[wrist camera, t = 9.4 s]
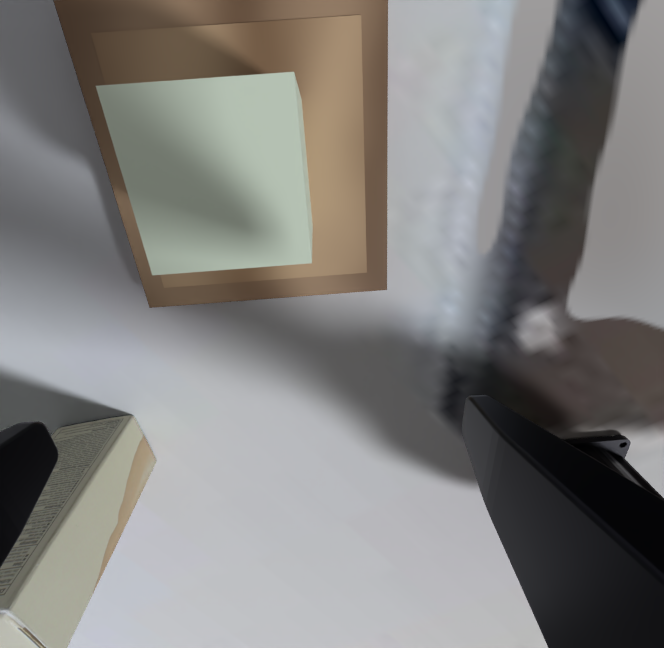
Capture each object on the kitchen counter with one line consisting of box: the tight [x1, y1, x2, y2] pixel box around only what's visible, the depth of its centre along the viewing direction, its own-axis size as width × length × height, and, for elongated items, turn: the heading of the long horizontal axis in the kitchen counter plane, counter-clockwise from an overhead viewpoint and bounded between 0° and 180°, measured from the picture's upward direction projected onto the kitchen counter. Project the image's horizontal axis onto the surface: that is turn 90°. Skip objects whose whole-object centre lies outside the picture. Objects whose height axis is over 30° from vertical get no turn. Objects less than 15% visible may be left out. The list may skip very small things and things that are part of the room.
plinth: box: [53, 0, 388, 308], centre depth 16 cm, size 12×12×2 cm
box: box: [0, 415, 156, 648], centre depth 19 cm, size 5×4×11 cm
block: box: [96, 72, 313, 275], centre depth 13 cm, size 5×5×6 cm
